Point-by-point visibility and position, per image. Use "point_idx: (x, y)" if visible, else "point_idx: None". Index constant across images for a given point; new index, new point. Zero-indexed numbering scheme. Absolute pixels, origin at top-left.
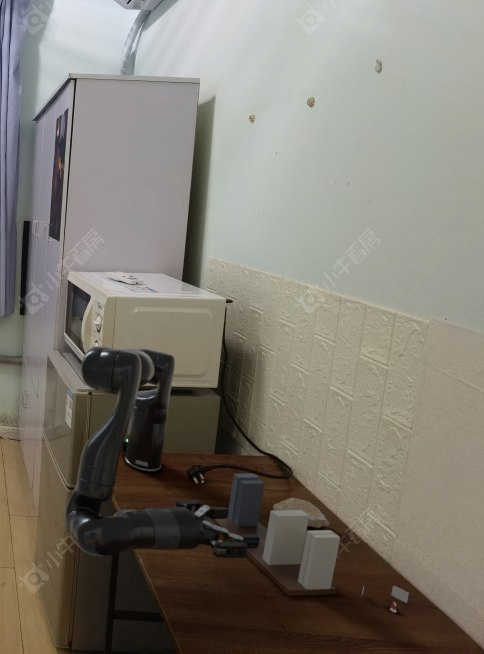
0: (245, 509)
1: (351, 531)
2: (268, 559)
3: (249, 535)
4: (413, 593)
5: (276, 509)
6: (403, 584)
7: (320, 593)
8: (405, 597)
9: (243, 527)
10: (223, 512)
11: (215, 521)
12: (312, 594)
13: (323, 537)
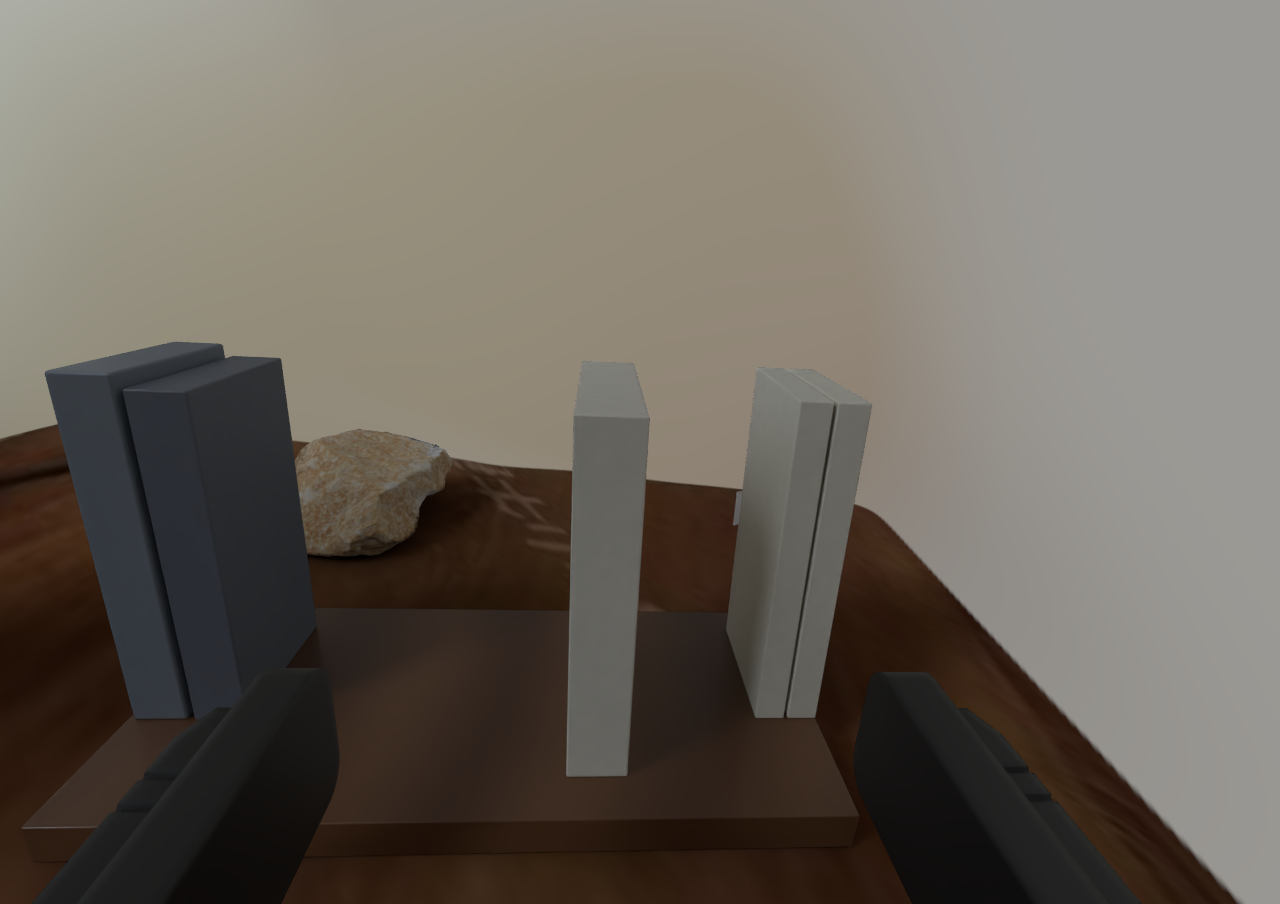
0: (250, 581)
1: (465, 460)
2: (615, 750)
3: (948, 753)
4: (710, 494)
5: None
6: (677, 490)
7: None
8: None
9: None
10: (294, 759)
11: (77, 837)
12: None
13: (848, 391)
